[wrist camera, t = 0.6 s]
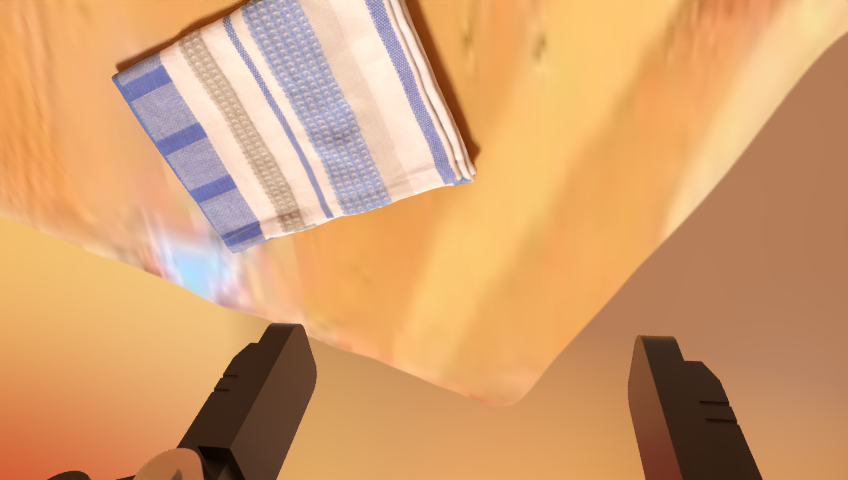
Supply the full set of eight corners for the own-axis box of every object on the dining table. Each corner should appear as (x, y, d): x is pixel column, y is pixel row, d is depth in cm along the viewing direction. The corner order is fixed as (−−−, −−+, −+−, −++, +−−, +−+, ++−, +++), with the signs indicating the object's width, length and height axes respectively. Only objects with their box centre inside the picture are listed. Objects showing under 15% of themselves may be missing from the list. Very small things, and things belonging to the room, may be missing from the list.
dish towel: (483, 173, 39) (481, 189, 37) (240, 247, 46) (225, 264, 44) (393, -70, 31) (383, -69, 29) (118, 66, 39) (92, 76, 36)
